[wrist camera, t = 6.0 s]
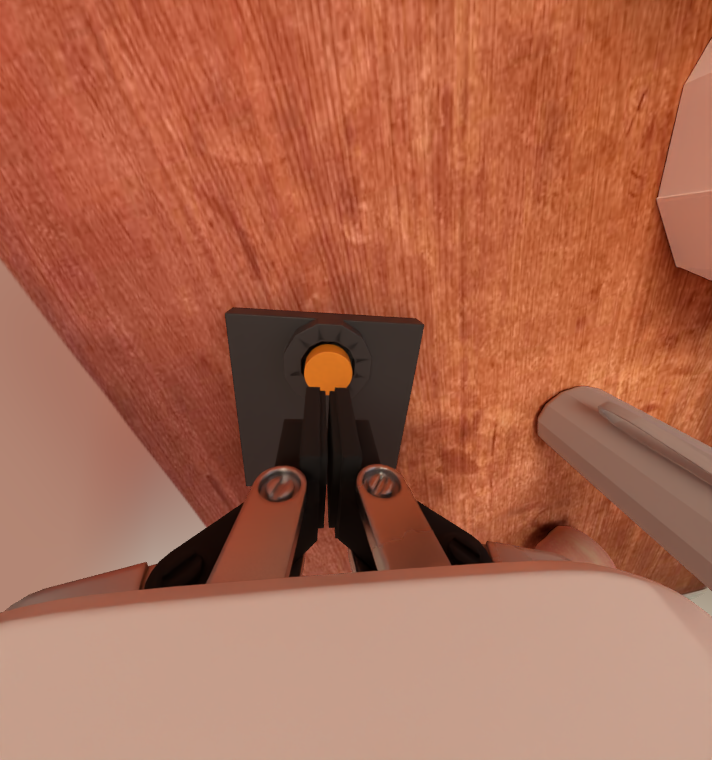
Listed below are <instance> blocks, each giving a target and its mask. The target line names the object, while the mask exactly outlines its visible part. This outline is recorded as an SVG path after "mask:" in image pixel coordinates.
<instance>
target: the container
mask: <svg viewBox="0 0 712 760" xmlns="http://www.w3.org/2000/svg"><path fill="white" fill-rule="evenodd" d="M656 200H657V203H658V207H659V210H660V214H661V217H662V221H663V224H664V227H665V231H666V234H667V238H668V241H669V244H670V248H671V251H672V255H673V258H674V261H675V265H676V267H680V268H683V269H685V270H687V271H690V272H692V273H694V274H697V275H699V276H701V277H704V278H706V279H708V280H711V281H712V39H711V40H710V42H709V44H708V45H707V47H706V49H705V51H704V52H703V54H702V56H701V57H700V59H699V61H698V63H697V64H696V66H695V68H694V69H693V71H692V73H691V75H690V76H689V78H688V80H687V81H686V83H685V84H684V87H683V91H682V96H681V100H680V104H679V109H678V113H677V117H676V121H675V126H674V130H673V134H672V139H671V143H670V147H669V152H668V156H667V160H666V164H665V169H664V173H663V177H662V182H661V186H660V190H659V195H658V198H656Z"/></svg>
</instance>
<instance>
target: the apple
mask: <svg viewBox="0 0 712 760" xmlns="http://www.w3.org/2000/svg"><path fill="white" fill-rule="evenodd" d="M535 549H537V550H542V551H548V552H553V553H556V554H559V555H562V556H564V557H566V558H568V559H569V560H571V561H573V562H583V563H591V564H596V565H601V566H606V567H611V568H615V569H616V567H615V565H614V563H613V561H612V560H611V558H610V557H609V556H608V554H607V553H606V552H605V551H604V550H603V548H602V547H601V546H600V545H599V544H598V543H596V542H595V541H594V540H593V539H592V538H590V537H589V536H587V535H586V534H584V533H583V532H581V531H579V530H577V529H575V528H572V527H569V526H557V527H555V528H554V529H553V530H552V531H550V532H549V534H548V535H547V536H546V537H545V538H544V539H543V540H542V541H540V542H539V543H538V544H537V545H536V547H535Z"/></svg>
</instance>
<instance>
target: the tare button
mask: <svg viewBox="0 0 712 760" xmlns="http://www.w3.org/2000/svg"><path fill="white" fill-rule="evenodd" d="M304 378H305V381H306V383H307V385H308V386H309V387H320V391H325V394H326V395H329V392H330V391H335V387H337V388H347V386H348V385H349V384H350V382H351V379H352V367H351V362H350V359H349V356H348V354H347V353H346V352H345V351H344V350H343V349H342V348H340V347H338V346H336V345H332V344H323V345H320V346H317V347H315V348H314V349H313V350H312V351H311V352H310V353H309V354H308V356H307V358H306V361H305V368H304Z"/></svg>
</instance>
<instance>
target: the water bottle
mask: <svg viewBox="0 0 712 760" xmlns="http://www.w3.org/2000/svg"><path fill="white" fill-rule="evenodd" d="M538 435H539V436H540V437H541V438H542V439H543V440H544V441H545V442H546V443H547V444H548V445H549V446H550V447H551V448H552V449H553V450H554V451H555V452H557V453H558V454H559V455H560V456H561V457H562V458H563V459H564V460H566V461H567V462H568V463H569V464H570V465H571V466H572V467H573V468H575V469H576V470H577V471H578V472H579V473H580V474H581V475H582V476H583V477H585V478H586V479H587V480H588V481H589V482H590V483H591V484H592V485H594V486H595V487H596V488H597V489H598V490H599V491H600V492H601V493H603V494H604V495H605V496H606V497H607V498H608V499H609V500H610V501H612V502H613V503H614V504H615V505H616V506H617V507H618V508H619V509H620V510H622V511H623V512H624V513H625V514H626V515H627V516H628V517H629V518H631V519H632V520H633V521H634V522H635V523H636V524H637V525H638V526H640V527H641V528H642V529H643V530H644V531H645V532H646V533H647V534H648V535H650V536H651V537H652V538H653V539H654V540H655V541H656V542H657V543H659V544H660V545H661V546H662V547H663V548H664V549H665V550H666V551H668V552H669V553H670V554H671V555H672V556H673V557H674V558H675V559H676V560H678V561H679V562H680V563H681V564H682V565H683V566H684V567H685V568H687V569H688V570H689V571H690V572H691V573H692V574H693V575H694V576H696V577H697V578H698V579H699V580H700V581H701V582H702V583H703V584H705V585H706V586H707V587H708V588H709V589H710V590H711V591H712V448H711V447H709V446H708V445H706V444H704V443H702V442H700V441H698V440H696V439H694V438H692V437H690V436H688V435H687V434H685V433H683V432H681V431H679V430H677V429H675V428H673V427H671V426H669V425H667V424H666V423H664V422H662V421H660V420H658V419H656V418H654V417H652V416H650V415H648V414H647V413H645V412H643V411H641V410H639V409H637V408H635V407H633V406H631V405H629V404H627V403H626V402H624V401H622V400H620V399H618V398H616V397H614V396H612V395H610V394H608V393H606V392H605V391H603V390H601V389H598V388H593V387H587V386H577V387H575V388H572V389H569V390H566V391H563V392H561V393H559V394H558V395H557V396H555V397H554V398H553V399H551V400H550V401H549V402H548V403H546V404H545V406H544V408H543V410H542V411H541V413H540V415H539V416H538Z"/></svg>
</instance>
